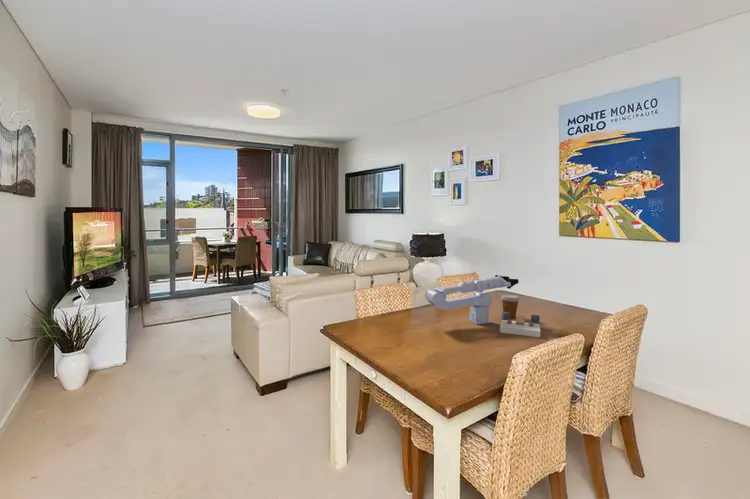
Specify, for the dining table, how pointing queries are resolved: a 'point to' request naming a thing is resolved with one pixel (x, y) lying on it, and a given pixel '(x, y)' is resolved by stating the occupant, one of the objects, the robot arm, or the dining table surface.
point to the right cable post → (535, 319)
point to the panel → (520, 328)
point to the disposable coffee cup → (510, 304)
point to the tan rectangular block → (520, 320)
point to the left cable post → (505, 315)
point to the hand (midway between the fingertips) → (513, 279)
